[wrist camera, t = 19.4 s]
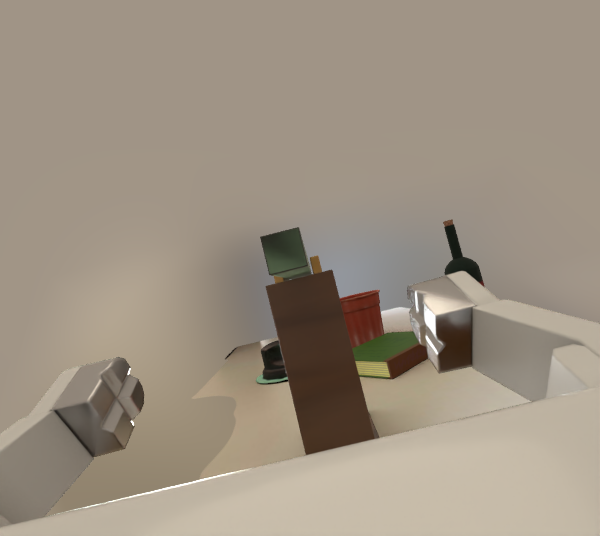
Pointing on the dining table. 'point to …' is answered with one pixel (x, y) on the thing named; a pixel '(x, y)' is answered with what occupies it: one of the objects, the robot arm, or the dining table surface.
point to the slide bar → (286, 254)
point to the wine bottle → (459, 256)
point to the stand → (319, 361)
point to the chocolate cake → (272, 364)
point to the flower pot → (362, 317)
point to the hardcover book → (389, 355)
